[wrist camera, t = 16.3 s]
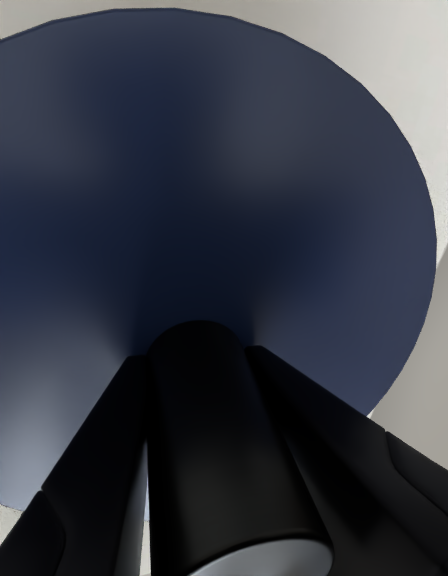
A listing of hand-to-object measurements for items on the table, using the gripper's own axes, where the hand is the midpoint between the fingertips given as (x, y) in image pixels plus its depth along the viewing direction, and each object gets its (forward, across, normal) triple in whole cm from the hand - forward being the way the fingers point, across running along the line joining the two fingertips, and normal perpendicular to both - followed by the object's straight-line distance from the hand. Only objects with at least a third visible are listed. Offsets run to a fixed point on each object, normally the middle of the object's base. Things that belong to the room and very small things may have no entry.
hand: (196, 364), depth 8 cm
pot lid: (+1, 0, 0) cm, 1 cm away
